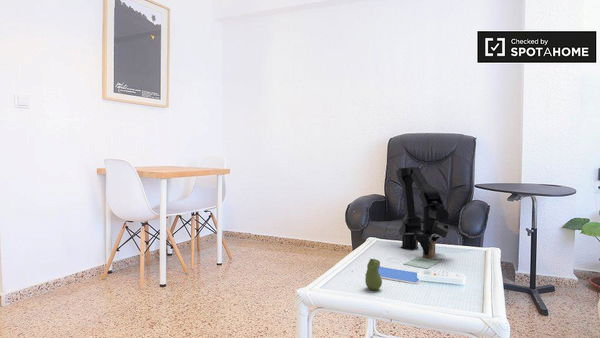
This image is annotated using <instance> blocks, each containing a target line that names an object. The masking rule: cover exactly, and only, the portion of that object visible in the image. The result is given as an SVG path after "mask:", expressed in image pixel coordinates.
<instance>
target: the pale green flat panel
mask: <svg viewBox="0 0 600 338" xmlns="http://www.w3.org/2000/svg"><path fill="white" fill-rule="evenodd" d="M438 263H440V260H437V259H427V258H423V257H418V256H416V257H415V258H412V259H409V260H408V261H406V262H404V263H403V266H409V267H415V268H416V267H417V268H419V269H425V270H428V269H430V268H431V267H434V265H436V264H438Z"/></svg>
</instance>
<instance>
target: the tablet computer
mask: <svg viewBox="0 0 600 338" xmlns="http://www.w3.org/2000/svg"><path fill="white" fill-rule="evenodd" d="M378 272H379V274H380V277H381V279H384V280H389V281H396V282H399V283H406V284H412V285H418V284H420V283H421V281H420V280H419V279H418V278H417V273H418V272H415V271H409V270H402V269H396V268H391V267H384V266H380V267H379V270H378Z"/></svg>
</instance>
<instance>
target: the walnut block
mask: <svg viewBox="0 0 600 338" xmlns="http://www.w3.org/2000/svg"><path fill="white" fill-rule="evenodd" d="M422 258H425V259H431V260H434V259H435V258H436V244H435V241H432V242H431V243H430V246H429V252H428V255H425V253H424V251H423V250H422Z"/></svg>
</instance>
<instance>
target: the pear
mask: <svg viewBox="0 0 600 338" xmlns="http://www.w3.org/2000/svg"><path fill="white" fill-rule="evenodd" d="M380 265H381V262H380V260H379V259H376V258H370V259H369V261H368V263H367V265H366V273H365V281H364V282H365V285H366V287H367V288H368V289H369V290H371V291H377V290H380V288H381V287H382V285H383V280H382V278H381V277H380V274H379V272H378V270H379V267H381V266H380Z"/></svg>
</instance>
